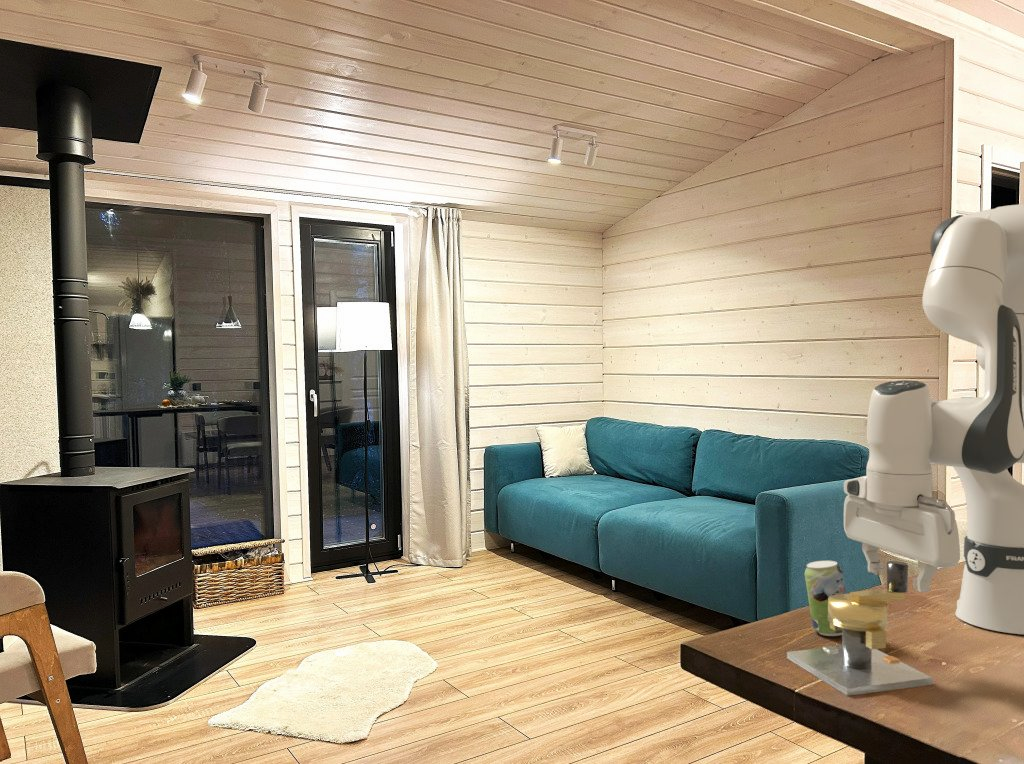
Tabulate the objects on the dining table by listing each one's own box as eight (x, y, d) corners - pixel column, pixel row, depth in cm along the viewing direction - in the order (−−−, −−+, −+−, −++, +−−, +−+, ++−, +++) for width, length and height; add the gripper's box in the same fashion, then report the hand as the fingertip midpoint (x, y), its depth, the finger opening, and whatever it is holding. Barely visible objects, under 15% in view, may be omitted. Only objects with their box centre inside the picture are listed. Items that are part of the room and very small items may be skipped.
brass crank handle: (927, 642, 115) (928, 570, 115) (854, 651, 112) (855, 577, 111) (882, 622, 124) (883, 555, 124) (813, 629, 121) (814, 561, 120)
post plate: (864, 649, 126) (865, 605, 126) (932, 684, 112) (932, 635, 112) (787, 658, 122) (787, 613, 122) (847, 695, 109) (847, 645, 109)
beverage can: (854, 641, 130) (855, 568, 129) (807, 638, 131) (807, 566, 131) (846, 628, 136) (847, 558, 135) (801, 625, 137) (801, 556, 137)
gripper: (972, 501, 109) (971, 601, 110) (870, 479, 129) (869, 563, 129) (934, 503, 107) (933, 604, 108) (836, 480, 127) (835, 566, 128)
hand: (897, 582), depth 119 cm, fingers open, 8 cm apart
